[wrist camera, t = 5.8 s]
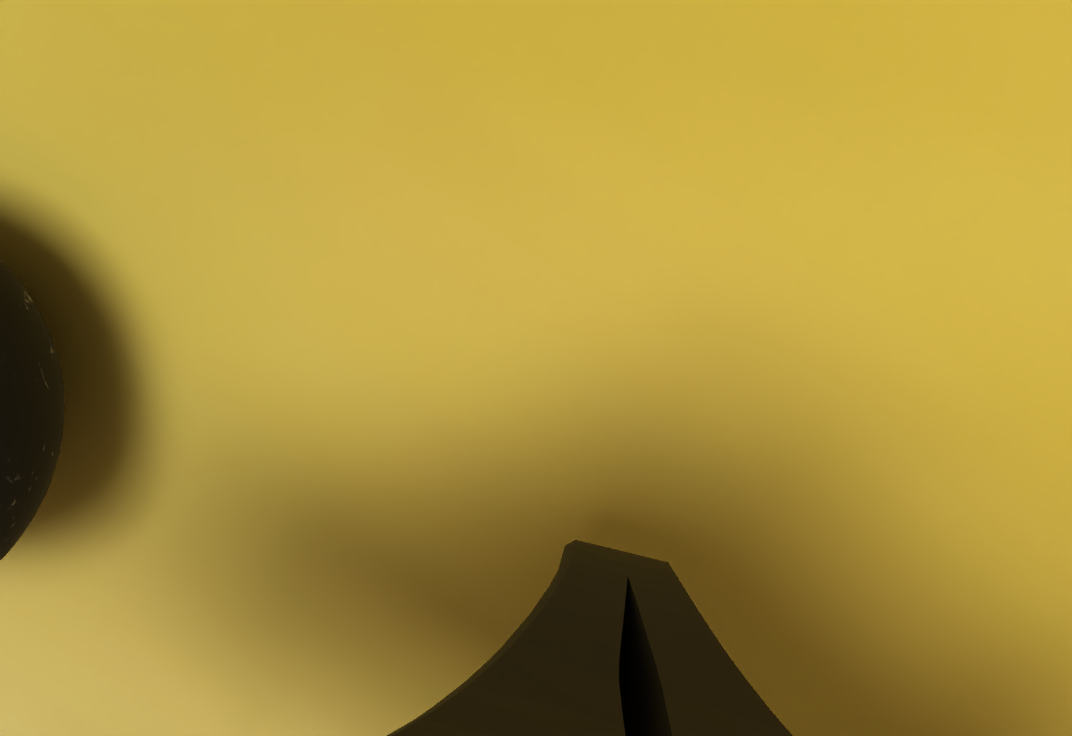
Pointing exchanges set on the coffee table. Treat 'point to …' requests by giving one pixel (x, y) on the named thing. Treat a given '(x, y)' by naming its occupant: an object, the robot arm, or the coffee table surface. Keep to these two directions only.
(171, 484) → the coffee table surface
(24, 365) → the billiard ball
